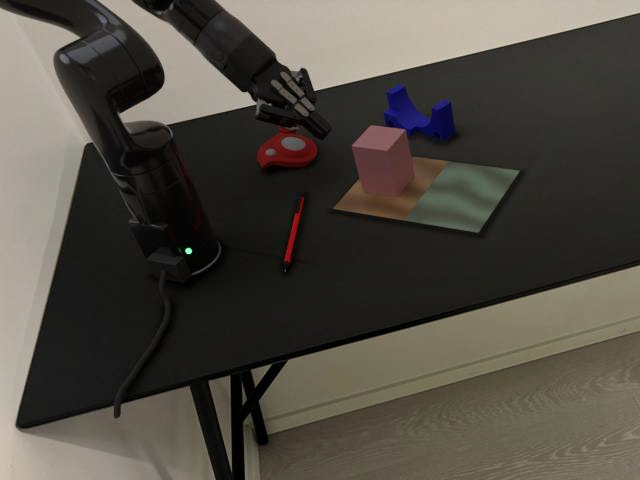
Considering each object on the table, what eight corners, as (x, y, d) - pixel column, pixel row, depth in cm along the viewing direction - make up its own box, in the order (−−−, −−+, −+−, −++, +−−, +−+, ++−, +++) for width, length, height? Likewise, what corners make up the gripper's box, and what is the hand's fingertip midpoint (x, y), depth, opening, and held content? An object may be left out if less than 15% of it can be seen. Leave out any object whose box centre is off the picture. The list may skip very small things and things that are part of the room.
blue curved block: (386, 128, 142) (379, 95, 138) (405, 116, 144) (399, 84, 140) (437, 148, 136) (431, 114, 132) (456, 135, 138) (450, 102, 134)
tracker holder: (329, 151, 137) (273, 163, 131) (327, 173, 140) (271, 186, 135) (294, 110, 142) (238, 120, 137) (292, 133, 145) (238, 143, 140)
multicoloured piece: (479, 235, 118) (478, 232, 117) (333, 211, 126) (332, 208, 126) (520, 173, 128) (520, 170, 127) (382, 155, 136) (382, 152, 136)
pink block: (397, 197, 126) (387, 150, 120) (363, 192, 128) (351, 145, 122) (415, 175, 130) (405, 129, 124) (381, 170, 132) (370, 125, 126)
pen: (306, 195, 130) (304, 189, 130) (289, 273, 117) (286, 267, 116) (301, 196, 130) (299, 190, 130) (282, 274, 117) (280, 267, 116)
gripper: (251, 47, 130) (337, 126, 134) (200, 88, 121) (294, 171, 126) (269, 15, 124) (359, 99, 128) (218, 56, 116) (315, 144, 120)
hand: (327, 135), depth 127 cm, fingers closed
